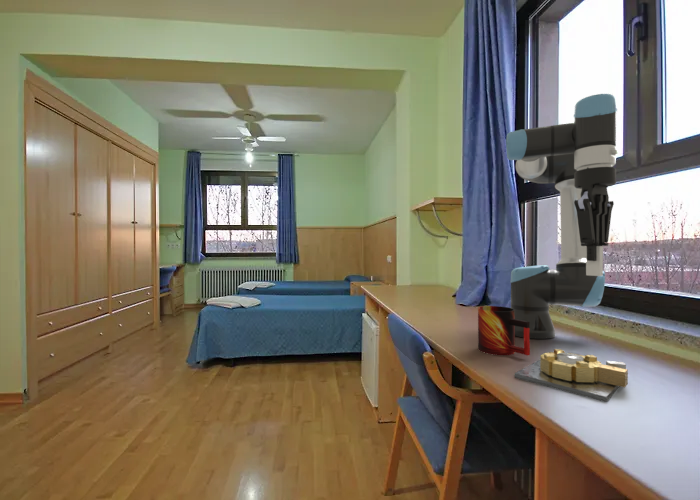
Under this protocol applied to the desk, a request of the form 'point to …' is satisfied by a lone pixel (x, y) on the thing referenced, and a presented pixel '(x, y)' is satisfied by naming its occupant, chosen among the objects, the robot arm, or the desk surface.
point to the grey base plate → (581, 388)
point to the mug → (500, 331)
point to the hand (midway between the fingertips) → (594, 275)
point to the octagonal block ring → (583, 370)
